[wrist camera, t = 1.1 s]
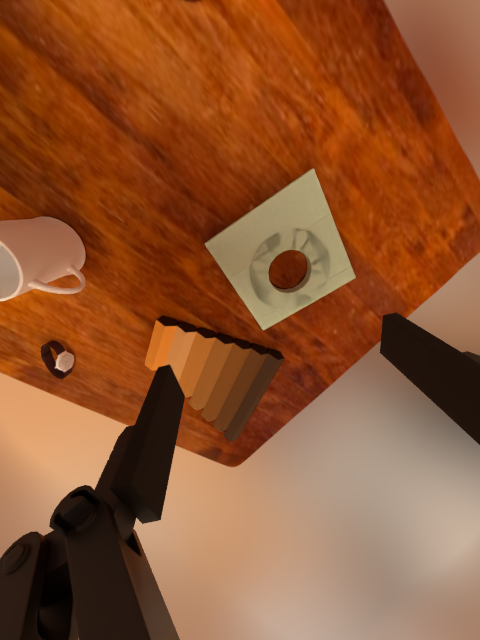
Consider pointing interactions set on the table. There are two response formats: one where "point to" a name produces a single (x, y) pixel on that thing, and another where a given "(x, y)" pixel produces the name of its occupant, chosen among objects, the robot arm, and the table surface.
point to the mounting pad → (276, 237)
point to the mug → (38, 256)
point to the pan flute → (214, 371)
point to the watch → (63, 360)
